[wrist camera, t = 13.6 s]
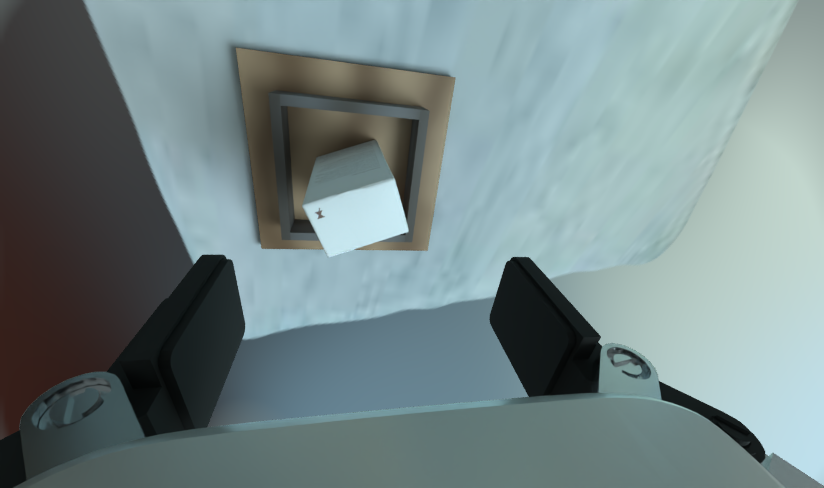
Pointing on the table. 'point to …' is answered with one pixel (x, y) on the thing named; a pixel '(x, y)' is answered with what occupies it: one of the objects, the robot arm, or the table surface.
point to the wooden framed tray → (339, 137)
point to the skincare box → (353, 199)
